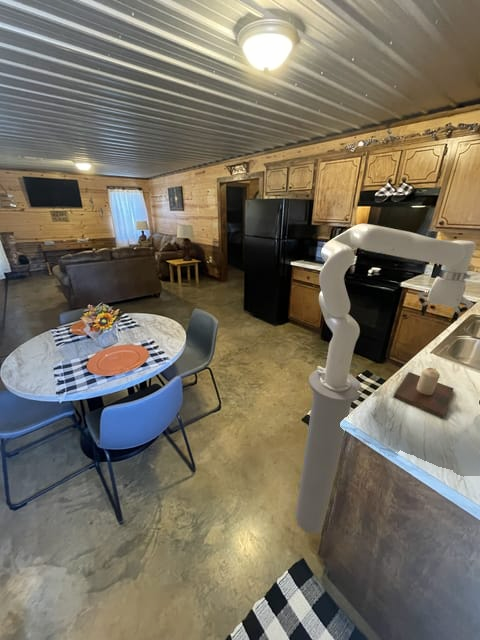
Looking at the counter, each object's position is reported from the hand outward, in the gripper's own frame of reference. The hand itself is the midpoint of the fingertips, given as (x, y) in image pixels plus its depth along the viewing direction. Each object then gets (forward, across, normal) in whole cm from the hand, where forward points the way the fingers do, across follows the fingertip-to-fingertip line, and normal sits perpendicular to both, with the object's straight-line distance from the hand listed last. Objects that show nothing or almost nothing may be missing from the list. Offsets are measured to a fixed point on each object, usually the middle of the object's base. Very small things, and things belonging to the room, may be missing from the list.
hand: (437, 318), depth 103 cm
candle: (+26, -5, +12) cm, 29 cm away
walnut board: (+28, -5, +12) cm, 31 cm away
